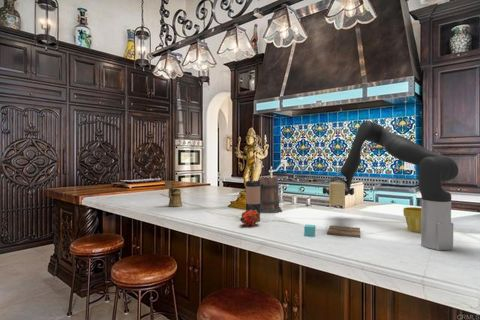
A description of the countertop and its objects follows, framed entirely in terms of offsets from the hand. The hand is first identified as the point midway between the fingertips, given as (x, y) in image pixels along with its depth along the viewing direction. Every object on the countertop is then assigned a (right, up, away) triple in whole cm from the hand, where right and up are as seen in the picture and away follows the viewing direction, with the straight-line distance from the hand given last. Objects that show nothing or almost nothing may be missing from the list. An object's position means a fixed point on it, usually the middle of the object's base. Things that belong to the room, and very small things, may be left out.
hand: (337, 192), depth 127 cm
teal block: (-12, -18, 0) cm, 21 cm away
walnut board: (+4, -18, +4) cm, 19 cm away
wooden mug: (-85, -17, +68) cm, 110 cm away
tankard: (-26, -17, +52) cm, 61 cm away
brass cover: (+1, -6, +2) cm, 6 cm away
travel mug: (-34, -17, +29) cm, 49 cm away
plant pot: (+38, -18, +7) cm, 42 cm away
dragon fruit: (-36, -18, +16) cm, 44 cm away
